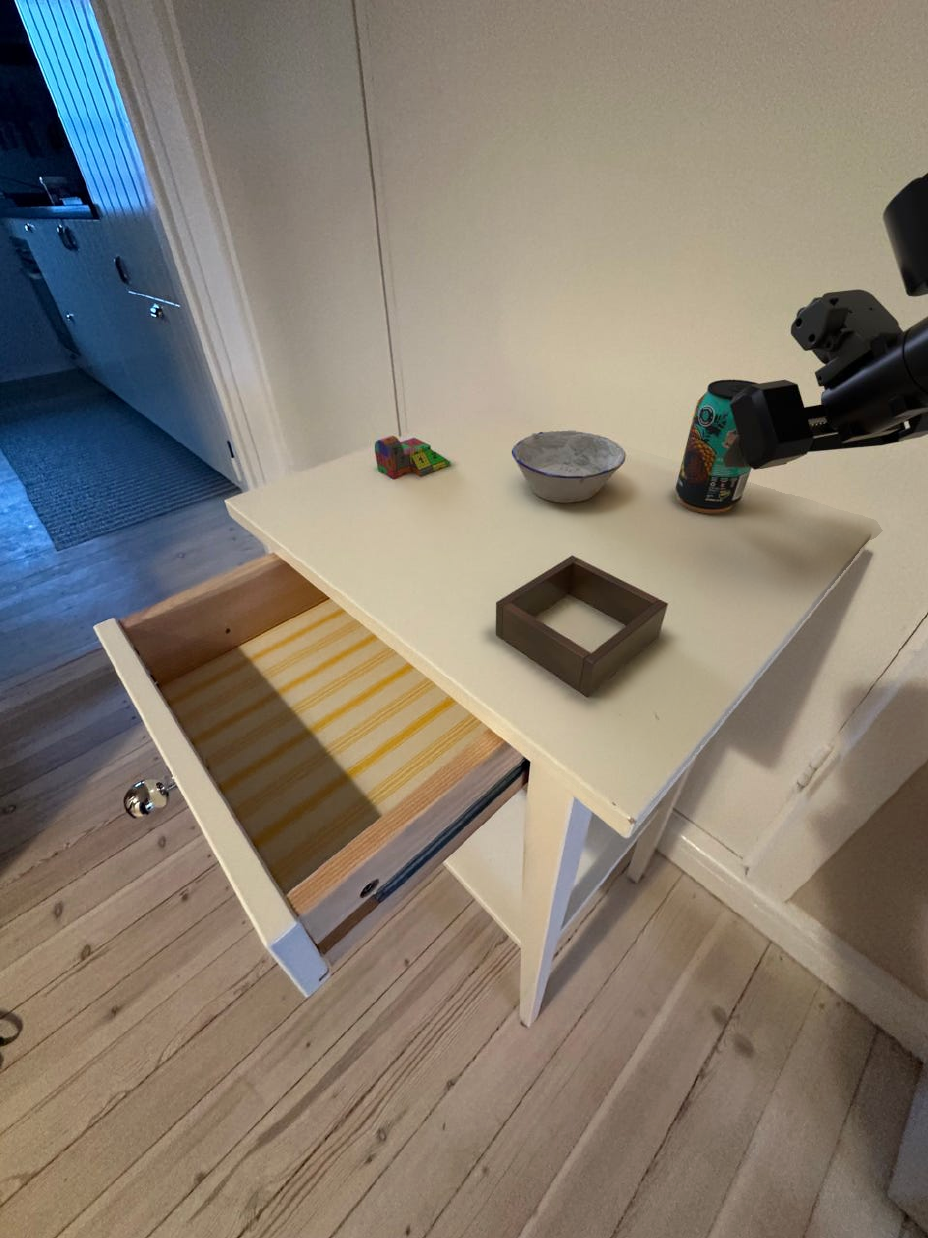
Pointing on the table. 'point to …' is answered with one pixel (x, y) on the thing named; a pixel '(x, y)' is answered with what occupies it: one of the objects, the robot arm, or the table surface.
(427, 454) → the numbered block arch
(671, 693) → the table surface
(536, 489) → the bowl
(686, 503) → the coaster
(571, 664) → the tray
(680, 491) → the beverage can
